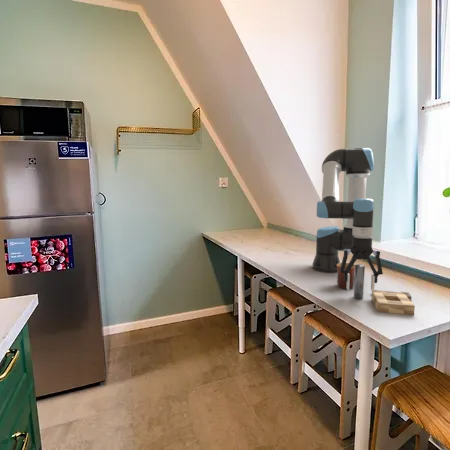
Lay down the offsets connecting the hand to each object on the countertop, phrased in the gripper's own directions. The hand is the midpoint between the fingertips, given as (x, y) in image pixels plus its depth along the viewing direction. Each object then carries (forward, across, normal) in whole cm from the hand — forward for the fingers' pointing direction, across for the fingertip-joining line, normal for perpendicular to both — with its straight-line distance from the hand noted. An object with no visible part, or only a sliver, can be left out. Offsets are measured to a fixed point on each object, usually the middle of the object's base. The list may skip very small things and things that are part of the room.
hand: (360, 289), depth 129 cm
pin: (+4, 0, 0) cm, 4 cm away
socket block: (+4, +10, -7) cm, 13 cm away
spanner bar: (+4, +12, +4) cm, 14 cm away
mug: (+4, -2, +13) cm, 14 cm away
